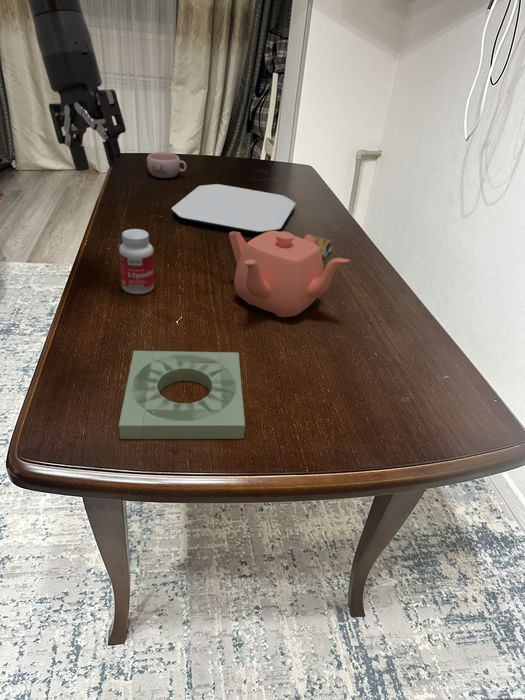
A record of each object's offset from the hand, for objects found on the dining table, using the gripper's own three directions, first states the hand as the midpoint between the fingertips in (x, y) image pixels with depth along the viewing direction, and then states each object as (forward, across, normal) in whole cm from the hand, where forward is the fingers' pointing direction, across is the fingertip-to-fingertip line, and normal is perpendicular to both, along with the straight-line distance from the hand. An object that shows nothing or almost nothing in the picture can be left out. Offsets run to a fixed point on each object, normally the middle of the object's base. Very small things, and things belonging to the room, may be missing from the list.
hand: (99, 168), depth 79 cm
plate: (+18, -16, +52) cm, 57 cm away
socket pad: (+31, +22, -13) cm, 40 cm away
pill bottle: (+23, -5, +5) cm, 24 cm away
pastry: (+27, +11, +45) cm, 53 cm away
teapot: (+29, +17, +20) cm, 39 cm away
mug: (+8, -47, +60) cm, 77 cm away
